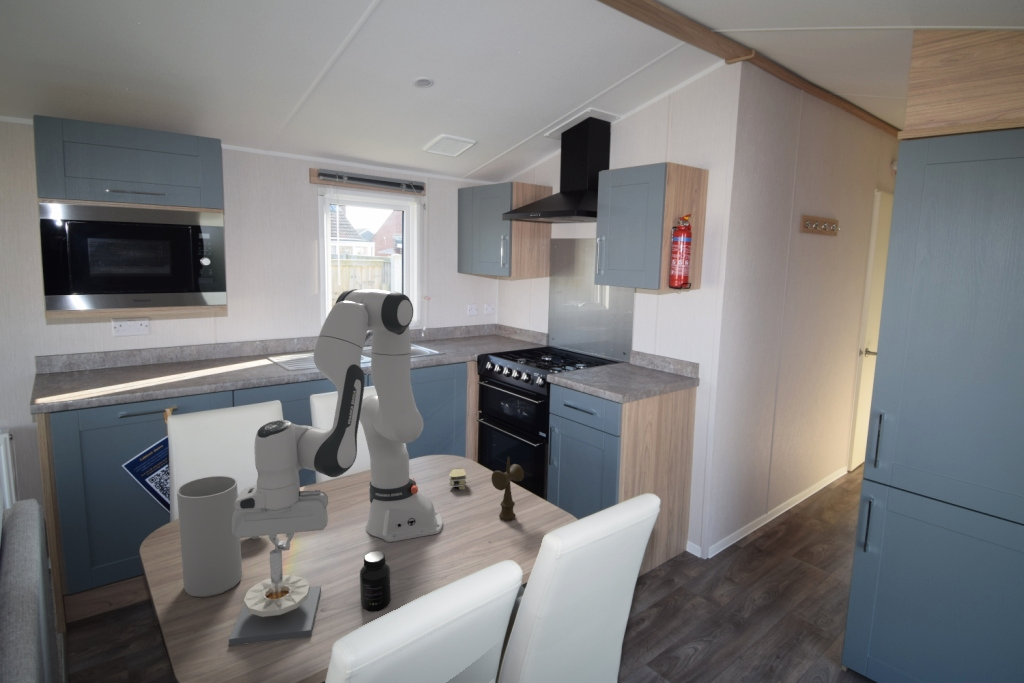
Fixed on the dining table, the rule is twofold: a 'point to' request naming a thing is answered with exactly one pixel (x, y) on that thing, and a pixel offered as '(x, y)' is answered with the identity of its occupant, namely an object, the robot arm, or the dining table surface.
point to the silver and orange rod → (276, 575)
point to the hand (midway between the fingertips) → (283, 549)
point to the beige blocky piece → (457, 478)
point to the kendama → (507, 488)
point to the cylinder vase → (209, 535)
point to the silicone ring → (270, 607)
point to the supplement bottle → (375, 582)
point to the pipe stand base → (277, 623)
